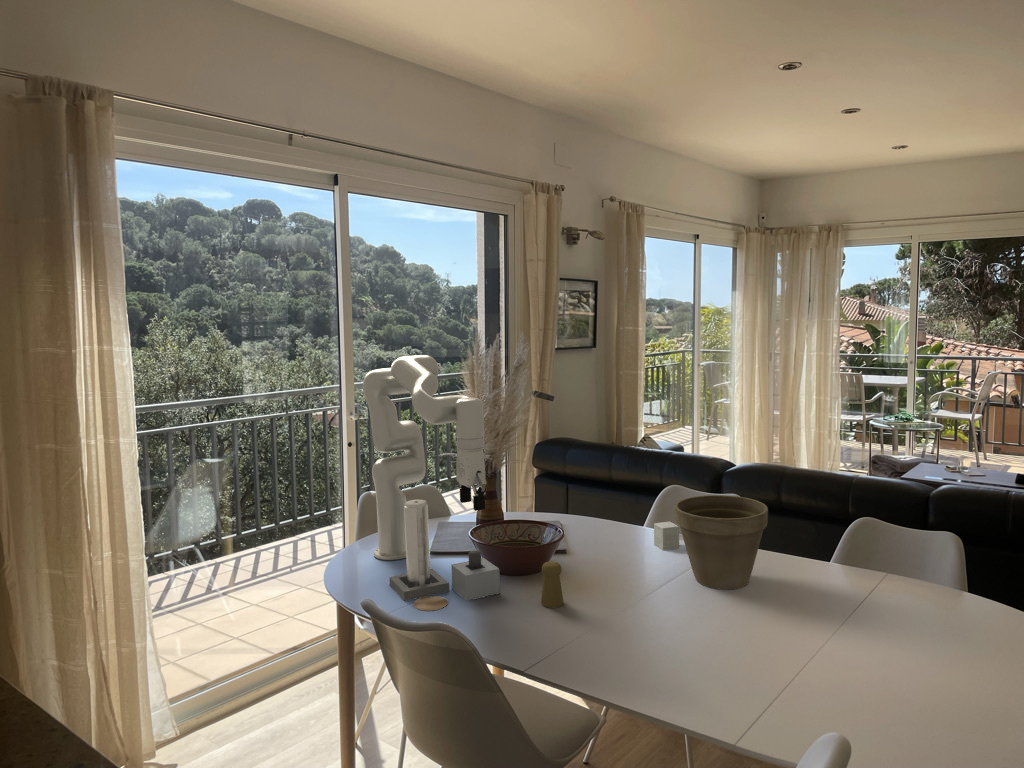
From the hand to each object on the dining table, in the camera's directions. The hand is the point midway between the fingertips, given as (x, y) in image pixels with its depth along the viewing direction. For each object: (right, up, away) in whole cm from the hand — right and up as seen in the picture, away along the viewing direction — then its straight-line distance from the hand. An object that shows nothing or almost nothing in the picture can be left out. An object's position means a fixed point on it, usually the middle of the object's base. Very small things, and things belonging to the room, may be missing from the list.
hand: (472, 505), depth 199 cm
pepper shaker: (+21, -25, -7) cm, 33 cm away
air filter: (-15, -24, +6) cm, 29 cm away
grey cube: (+61, -20, +37) cm, 74 cm away
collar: (-15, -24, +6) cm, 29 cm away
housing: (+1, -24, +3) cm, 24 cm away
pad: (-11, -25, -5) cm, 28 cm away
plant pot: (+70, -22, +6) cm, 73 cm away
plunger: (+1, -17, +2) cm, 17 cm away
